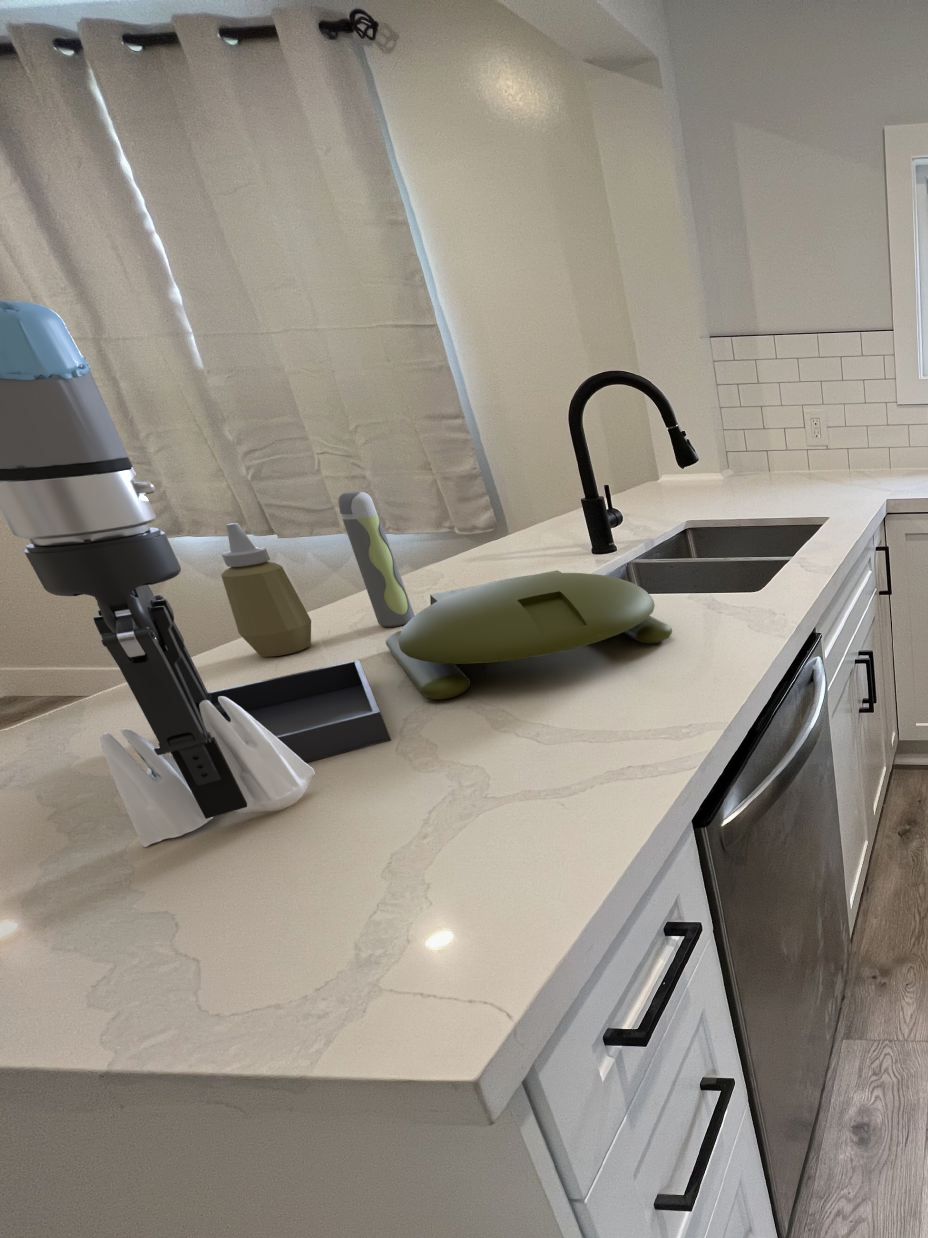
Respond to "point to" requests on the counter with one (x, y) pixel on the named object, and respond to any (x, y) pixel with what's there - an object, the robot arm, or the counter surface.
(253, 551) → the squeeze bottle
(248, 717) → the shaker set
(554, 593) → the spaceship
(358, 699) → the dark grey tray
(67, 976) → the counter surface
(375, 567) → the grey and green bar
